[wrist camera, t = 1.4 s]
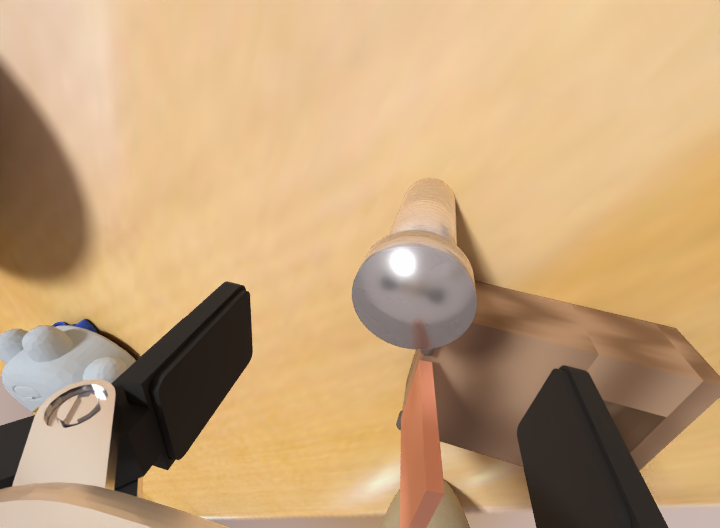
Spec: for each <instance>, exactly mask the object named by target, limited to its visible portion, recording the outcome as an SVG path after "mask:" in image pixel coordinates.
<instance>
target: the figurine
mask: <svg viewBox="0 0 720 528" xmlns="http://www.w3.org/2000/svg"><path fill="white" fill-rule="evenodd" d="M0 359H1V360H2V361H3V362H4V363H6V365H5V367H4V370H3V372H2V380H3V385H4V386H5V388H6V390H7V391H8V392H9V393H10V394H11V395H12V396H13V397H14V398H15V399H16V400H17V401H18V402H20V403H21V404H22V405H23V406H25V407H26V408H27V409H28V410H30V411H32V413H33V414H34V415H36V413H37V411H38V409H39V407H40V406H41V405H42V404H43V403H44V402H45V401H46V400H47V399H48V398H49V397H50V396H52V395H53V394H54V393H56V392H57V391H59V390H61V389H63V388H65V387H67V386H69V385H71V384H74V383H77V382H80V381H84V380H91V379H98V380H104V381H107V382H109V383H112V382H113V381H115V380H116V379H117V378H118V377H119V376H120V375H121V374H122V373H123V372H124V371H126V370H127V369H128V368H129V367H130V366H131V365H132V364H133V363H134V362H136V360H135V359H134V358H133V357H132V356H131V355H130V354H129V353H128V352H126V351H125V350H124V349H122V348H121V347H120V346H118V345H117V344H115V343H114V342H112V341H111V340H109V339H107V338H106V337H104V336H102V335H99V334H97V329H96V328H95V327H94V326H93V325H92V324H91V323H90V322H88V321H87V320H86V319H84V320H82V321H81V322H79V323H78V324H73V325H67V324H65V323H64V322H57V323H55V324H54V325H53V326H49V325H44V326H38V327H36V328H34V329H32V330H30V331H29V332H28V331H25V330H22V329H11V330H8V331H6V332H4V333H2V334H1V335H0Z"/></svg>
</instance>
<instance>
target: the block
mask: <svg viewBox="0 0 720 528" xmlns="http://www.w3.org/2000/svg"><path fill="white" fill-rule="evenodd" d="M475 290H476V299H477V307H476V313H475V316H474V319H473V321H472V323H471V325H470V326H469V327H468V329H467V330H466V331H465V332H464V333H463V334H462V335H461V336H460V337H458V338H457V339H456V340H454V341H452V342H451V343H448V344H446V345H444V346H440V347H437V348H432V349H422V350H420V349H416V352H415V355H414V358H413V362H412V365H411V368H410V372H409V375H408V378H407V383H406V390H405V396H404V403H403V410H404V407H405V404H406V400H407V397H408V394H409V391H410V388H411V385H412V382H413V379H414V375H415V372H416V369H417V366H418V363H419V360H422V361H428V362H432V367H433V378H434V388H435V399H436V409H437V420H438V430H439V440H440V441H441V442H444V443H448V444H451V445H454V446H458V447H461V448H464V449H467V450H471V451H474V452H477V453H480V454H484V455H487V456H490V457H493V458H497V459H500V460H503V461H506V462H510V463H513V464H516V465H520V466H523V462H522V458H521V453H520V448H519V444H518V439H517V428H518V425H519V423H520V421H521V420H522V418H523V417H524V415H525V413H526V412H527V410H528V408H529V407H530V405H531V404H532V402H533V400H534V399H535V397H536V396H537V394H538V392H539V391H540V389H541V388H542V386H543V384H544V383H545V381H546V379H547V378H548V376H549V375H550V373H551V371H552V370H553V369H555V368H556V369H559V368H560V367H561V366H562V365H566V366H570V367H574V368H578V369H582V370H586V371H587V372H588V373H589V374H590V376H591V378H592V380H593V382H594V384H595V386H596V388H597V390H598V392H599V393H600V395H601V397H602V399H603V401H604V403H605V405H606V407H607V409H608V411H609V413H610V415H611V417H612V419H613V421H614V423H615V425H616V427H617V429H618V431H619V432H620V434H621V436H622V438H623V440H624V442H625V444H626V446H627V448H628V450H629V452H630V454H631V456H632V458H633V460H634V462H635V464H636V466H637V468H638V470H640V469H642V468H643V467H644V466H645V465H646V464H647V463H648V462H649V461H650V460H651V459H652V458H654V457H655V456H656V455H657V454H658V453H659V452H660V451H661V450H662V449H663V448H665V447H666V446H667V445H668V444H669V443H670V442H671V441H672V440H673V439H674V438H675V437H677V436H678V435H679V434H680V433H681V432H682V431H683V430H684V429H685V428H686V427H688V426H689V425H690V424H691V423H692V422H693V421H694V420H695V419H696V418H697V417H698V416H700V415H701V414H702V413H703V412H704V411H705V410H706V409H707V408H708V407H709V406H710V405H712V404H713V403H714V402H715V401H716V400H717V399H718V398H719V397H720V376H719V375H718V374H717V373H716V372H715V371H714V369H713V368H712V367H711V366H710V365H709V364H708V363H707V362H706V361H705V360H704V358H703V357H702V356H701V355H700V354H699V353H698V352H697V351H696V350H695V349H694V347H693V346H692V345H691V344H690V343H689V342H688V341H687V340H686V339H685V338H684V337H683V335H682V334H681V333H680V332H679V331H678V330H677V329H676V328H672V327H668V326H664V325H660V324H655V323H651V322H647V321H642V320H638V319H634V318H630V317H625V316H621V315H617V314H613V313H608V312H604V311H600V310H596V309H591V308H587V307H583V306H579V305H574V304H570V303H566V302H561V301H557V300H553V299H549V298H544V297H540V296H536V295H532V294H527V293H523V292H519V291H515V290H510V289H506V288H502V287H498V286H493V285H489V284H485V283H480V282H476V281H475ZM403 410H402V411H401V412H400V414H399V417H398V420H397V423H396V425H397V428H398V429H399V430H401V416H402V413H403Z"/></svg>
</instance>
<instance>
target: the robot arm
mask: <svg viewBox="0 0 720 528" xmlns="http://www.w3.org/2000/svg"><path fill="white" fill-rule="evenodd" d="M252 352H253V350H252V329H251V308H250V293H249V292H248V291H246V289H245V287H244V286H243V285H239V284H235V283H231V282H224V283H223V284H222V285H221V286H220V287H218V288H217V289H216V290H215V291H214V292H213V293H212V294H211V295H210V296H208V297H207V298H206V299H205V300H204V301H203V302H202V303H201V304H200V305H199V306H197V307H196V308H195V309H194V310H193V311H192V312H191V313H190V314H189V315H187V316H186V317H185V318H184V319H182V320H181V321H180V322H179V323H178V324H177V325H176V326H174V327H173V328H172V329H171V330H170V331H169V332H168V333H167V334H166V335H164V336H163V337H162V338H161V339H160V340H159V341H158V342H157V343H156V344H154V345H153V346H152V347H151V348H150V349H149V350H148V351H147V352H146V353H144V354H143V355H142V356H141V357H140V358H139V359H138V360H137V361H136V362H134V363H133V364H132V365H131V366H130V367H129V368H128V369H127V370H126V371H124V372H123V373H122V374H121V375H120V376H119V377H118V378H117V379H116V380H115V381H113V382H112V383H109V382H107V381H104V380H98V379H91V380H84V381H80V382H77V383H74V384H71V385H69V386H67V387H65V388H63V389H61V390H59V391H57V392H56V393H54V394H53V395H52V396H50V397H49V398H48V399H47V400H46V401H45V402H44V403H43V404H42V405H41V406H40V407H39V409H38V411H37V413H36V415H34V416H31V417H27V418H24V419H21V420H18V421H15V422H11V423H8V424H5V425H1V426H0V528H230V527H227V526H224V525H221V524H218V523H216V522H213V521H210V520H207V519H204V518H201V517H198V516H195V515H192V514H189V513H186V512H183V511H180V510H177V509H174V508H171V507H167V506H164V505H161V504H158V503H155V502H152V501H149V500H145V499H142V493H143V476H144V475H145V474H146V473H147V471H148V470H149V469H150V467H151V466H152V465H154V466H157V467H160V468H163V469H166V470H168V469H169V468H170V467H171V465H172V464H173V462H174V461H175V460H179V459H181V458H182V457H183V456H184V455H185V454H186V452H187V451H188V450H189V448H190V447H191V445H192V444H193V442H194V441H195V439H196V438H197V437H198V435H199V434H200V432H201V431H202V429H203V428H204V427H205V425H206V424H207V422H208V421H209V419H210V418H211V416H212V415H213V414H214V412H215V411H216V409H217V408H218V406H219V405H220V404H221V402H222V401H223V399H224V398H225V396H226V395H227V393H228V392H229V391H230V389H231V388H232V386H233V385H234V383H235V382H236V381H237V379H238V378H239V376H240V375H241V373H242V372H243V370H244V369H245V368H246V366H247V365H248V363H249V362H250V360H251V357H252ZM517 439H518V444H519V448H520V453H521V458H522V462H523V467H524V472H525V476H526V481H527V486H528V490H529V495H530V499H531V504H532V509H533V513H534V518H535V522H536V527H537V528H668V526H667V524H666V522H665V520H664V518H663V517H662V514H661V512H660V511H659V509H658V507H657V505H656V503H655V501H654V499H653V497H652V495H651V493H650V491H649V489H648V487H647V485H646V483H645V481H644V479H643V477H642V475H641V473H640V472H639V470H638V468H637V466H636V464H635V462H634V460H633V458H632V456H631V454H630V452H629V450H628V448H627V446H626V444H625V442H624V440H623V438H622V436H621V434H620V432H619V431H618V429H617V427H616V425H615V423H614V421H613V419H612V417H611V415H610V413H609V411H608V409H607V407H606V405H605V403H604V401H603V399H602V397H601V395H600V393H599V392H598V390H597V388H596V386H595V384H594V382H593V380H592V378H591V376H590V374H589V373H588V372H587V371H586V370H582V369H578V368H574V367H570V366H566V365H562V366H561V367H560V368H559V369H556V368H555V369H553V370H552V371H551V373H550V375H549V376H548V378H547V379H546V381H545V383H544V384H543V386H542V388H541V389H540V391H539V392H538V394H537V396H536V397H535V399H534V400H533V402H532V404H531V405H530V407H529V408H528V410H527V412H526V413H525V415H524V417H523V418H522V420H521V421H520V423H519V425H518V428H517Z"/></svg>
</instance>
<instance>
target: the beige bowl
mask: <svg viewBox="0 0 720 528" xmlns="http://www.w3.org/2000/svg"><path fill="white" fill-rule="evenodd" d="M443 482H444V493H445V494H444V496H443V498H442V500H441V502H440V503H439V505H438V507H437V509H436V511H435V513H434V515H433V516H432V518H431V520H430V522H429V524H428V526H427V527H426V528H470V527H469V524H468V521H467V519H466V516H465V514H464V512H463V509H462V507H461V505H460V503H459V501H458V499H457V497H456V495H455V493H454V492H453V490H452V488H451V486H450V485H449V484H448V483H447V482H446V481H445V480H443ZM381 528H400V490H399V491H398V493H397V494H396V496H395V497H394V499H393V501H392V503H391V505H390V507H389V509H388V511H387V513H386V515H385V518H384V520H383V523H382V526H381Z"/></svg>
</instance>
